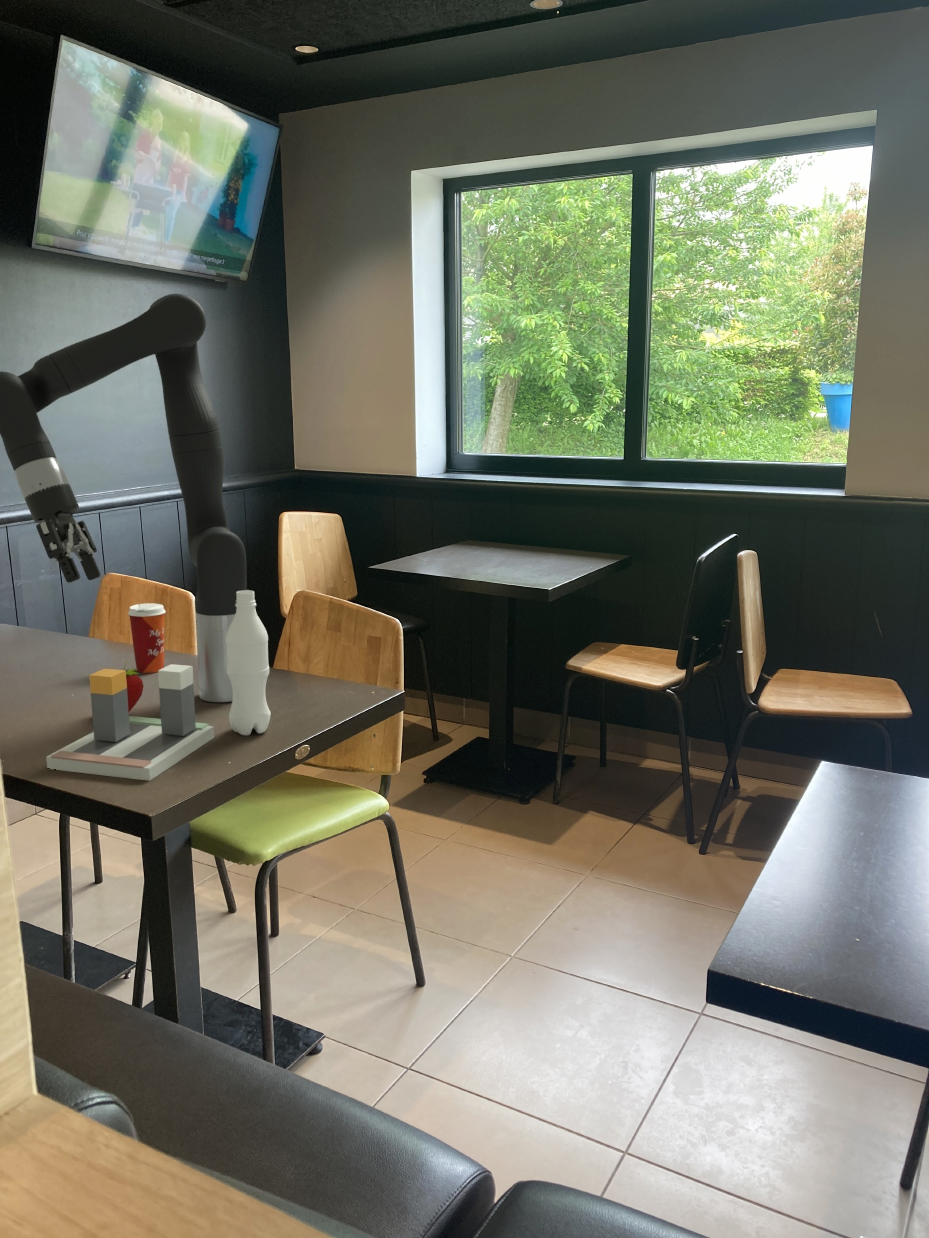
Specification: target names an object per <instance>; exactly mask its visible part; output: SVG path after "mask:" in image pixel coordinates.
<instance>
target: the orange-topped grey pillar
mask: <svg viewBox="0 0 929 1238" xmlns="http://www.w3.org/2000/svg"><path fill="white" fill-rule="evenodd" d="M126 672H127V671H126V669H125V670H123V669H113V668H102V669H100V670H98V671H96V672H93V673H91V674H89V689H90V701H91V714H92V715H91V716H92V727H93V728H92V729H93V732H94V740H102V741H111V742H117V741H119V740H120V739H122V738H124V737H126V736H127V735H129V734H130V725H129V716H130V712H129V711H128V696H127V681H126Z"/></svg>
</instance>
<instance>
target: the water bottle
mask: <svg viewBox="0 0 929 1238" xmlns="http://www.w3.org/2000/svg"><path fill="white" fill-rule="evenodd" d="M236 595H237V596H236V597H237V600H236V602H237V603H236V604H235V606H236V607H237V609H236V614H235V617H234V619H233V621H232V623H231V625H230V627H229V629H228V632H227V635H226V643H227V664H228V667H227V674H228V676H229V678H230V681H231V684H232V689H233V701H231V705H230V710H229V713H228V720H229V723H230V727H231V729H232V730H233V732H235V733H238V734H240V735H242V736H249V735H251V733H252V730H253V729H254V730H255V732H256V733H257V734H263V733H264V732H266V730H267V728H268V727H269V724H270V720H271V715H272V713H271V710H270V709H269V706H268V703H267V696H266V686H267V680H268V677H269V676H270V675H269V674H270V665H269V647H268V646H269V642H268V641H269V635H268V632H267V629H266V627H265V626H264V624H263V622H262V620H261V619H260V617H259V616H258V615H259V614H258V613H257V611H256V607H257V603H256V599H255V597H256V596H255V591H254V590H249V589H246V590H242V591H237V593H236Z"/></svg>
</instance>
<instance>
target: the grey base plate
mask: <svg viewBox="0 0 929 1238" xmlns="http://www.w3.org/2000/svg"><path fill="white" fill-rule="evenodd" d="M193 669H194V668H193V665H183V664H171V663H170V664H168V665H166V666H164V668H162V669H160V670H158V672H157V675H158V677H157V678H158V689H159V690H158V692H159V706H160V709H159V710H160V718H156V717H155V718H154V717H146V716H145V717H144V716H136V715H135V716H133V715H129V725H130V734H129V735H127V736H126V737H124V738H122V739H120V740H119V741H117V742H111V741H102V740H94V731H92V732H90V733H88V734H86V735H85V736H82V737H81V738H79V739H77V740H76V741H73V742H72V743H70V744H68V745H66V746H64V747H62V748H60V749H58V750H56V751H54V752H52V753H50V754H49V755H47V756H46V768H50V769H49V770H54V769H56V771H63V772H71V773H81V774H89V775H96V776H97V775H98V776H106V777H113V778H114V777H115V778H122V779H131V780H132V779H133V780H141V781H149V782H151V781H152V780H154V779H155V778H157V777H158V776H160V774H162V773H164V772H165V771H166V770H168V769H169V768H171V767H173V766H174V765H176V764H177V763H179V762H181V761H182V760H183V759H184V758H186V757H187V756H190V754H191V753H193V752H195V751H196V750H198V749H199V748H200V747H203V745H205V744H207V743H208V742H210V741H211V740H213V739H214V738H215V726H213V725H210V724H209V723H205V722H204V723H203V722H196V710H195V709H196V708H195V690H194V689H195V687H194V670H193Z"/></svg>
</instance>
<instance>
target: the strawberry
mask: <svg viewBox="0 0 929 1238" xmlns="http://www.w3.org/2000/svg"><path fill="white" fill-rule="evenodd" d="M127 662H128V661H127V660H126V661H125V665H124V670H126V667H127ZM137 670H138V669H137V668H135V669H134V668H133V669H132V668H131V669H128V670H127V671H126V681H127V696H128V711H129V713H131V711H132V709H133V708H134V707H135V706H136V705H137V703H138V702H139V700H140V698H141V697H142V695H143V691H144V683H143V679H141V678H140V676H138V675H140V672H137Z"/></svg>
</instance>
